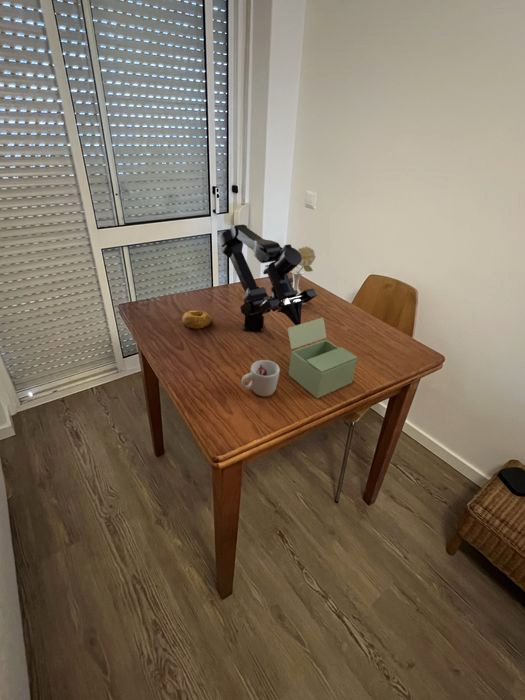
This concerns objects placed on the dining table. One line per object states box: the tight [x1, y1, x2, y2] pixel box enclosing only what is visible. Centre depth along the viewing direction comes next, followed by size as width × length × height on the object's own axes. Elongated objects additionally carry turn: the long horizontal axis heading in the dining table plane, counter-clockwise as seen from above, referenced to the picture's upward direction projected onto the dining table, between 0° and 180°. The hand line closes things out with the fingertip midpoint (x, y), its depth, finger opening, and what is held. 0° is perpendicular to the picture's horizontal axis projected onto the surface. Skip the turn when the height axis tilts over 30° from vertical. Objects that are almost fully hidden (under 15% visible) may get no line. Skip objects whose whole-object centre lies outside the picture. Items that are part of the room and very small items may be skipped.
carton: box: [288, 339, 358, 399], centre depth 104 cm, size 13×14×9 cm
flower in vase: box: [290, 245, 316, 306], centre depth 145 cm, size 13×11×25 cm
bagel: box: [181, 310, 213, 330], centre depth 130 cm, size 10×11×5 cm
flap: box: [286, 317, 327, 350], centre depth 105 cm, size 6×14×1 cm
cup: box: [240, 359, 281, 397], centre depth 97 cm, size 11×8×8 cm
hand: (298, 326), depth 108 cm, fingers closed
